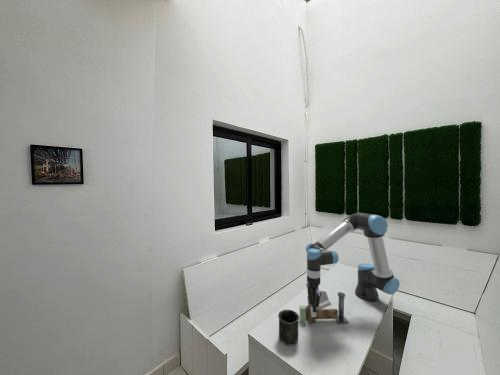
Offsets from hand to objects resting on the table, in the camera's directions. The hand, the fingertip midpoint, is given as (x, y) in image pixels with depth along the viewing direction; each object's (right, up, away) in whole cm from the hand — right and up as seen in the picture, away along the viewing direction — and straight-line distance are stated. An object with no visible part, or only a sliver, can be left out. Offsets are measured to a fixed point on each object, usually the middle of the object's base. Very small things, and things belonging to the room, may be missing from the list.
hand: (313, 316), depth 116 cm
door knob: (+18, -5, +4) cm, 19 cm away
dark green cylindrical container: (-16, -5, -9) cm, 19 cm away
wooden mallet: (+7, -5, +3) cm, 9 cm away
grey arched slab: (+10, -5, +19) cm, 22 cm away
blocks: (-4, -5, +5) cm, 8 cm away
